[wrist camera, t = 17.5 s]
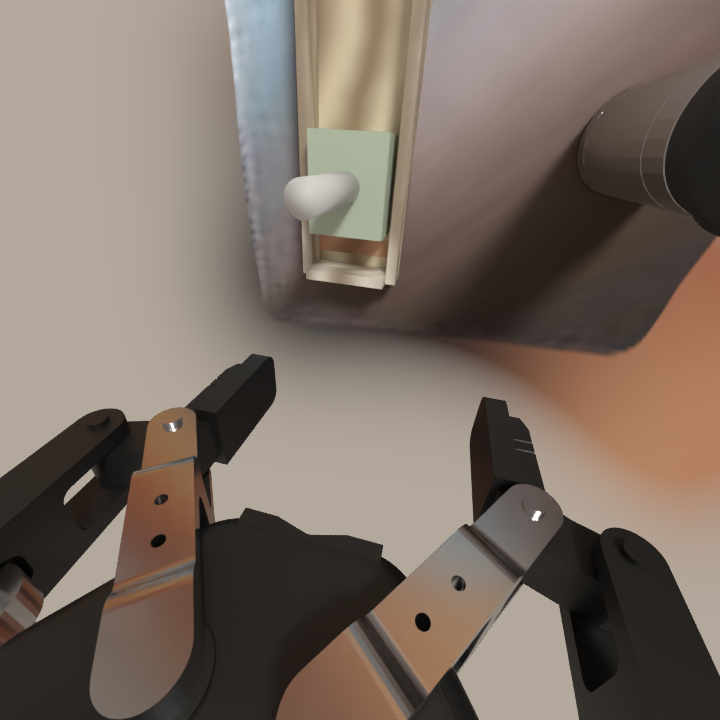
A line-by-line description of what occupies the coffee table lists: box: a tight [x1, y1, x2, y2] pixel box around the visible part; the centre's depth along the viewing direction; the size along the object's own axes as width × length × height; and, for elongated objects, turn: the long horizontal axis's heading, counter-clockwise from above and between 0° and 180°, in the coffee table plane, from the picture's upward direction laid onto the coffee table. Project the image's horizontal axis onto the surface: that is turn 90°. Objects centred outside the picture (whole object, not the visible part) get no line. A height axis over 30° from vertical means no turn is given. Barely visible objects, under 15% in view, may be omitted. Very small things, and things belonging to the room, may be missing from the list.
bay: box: [294, 0, 432, 289], centre depth 34 cm, size 12×34×6 cm, turn 177°
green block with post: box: [284, 128, 398, 241], centre depth 32 cm, size 8×10×17 cm
